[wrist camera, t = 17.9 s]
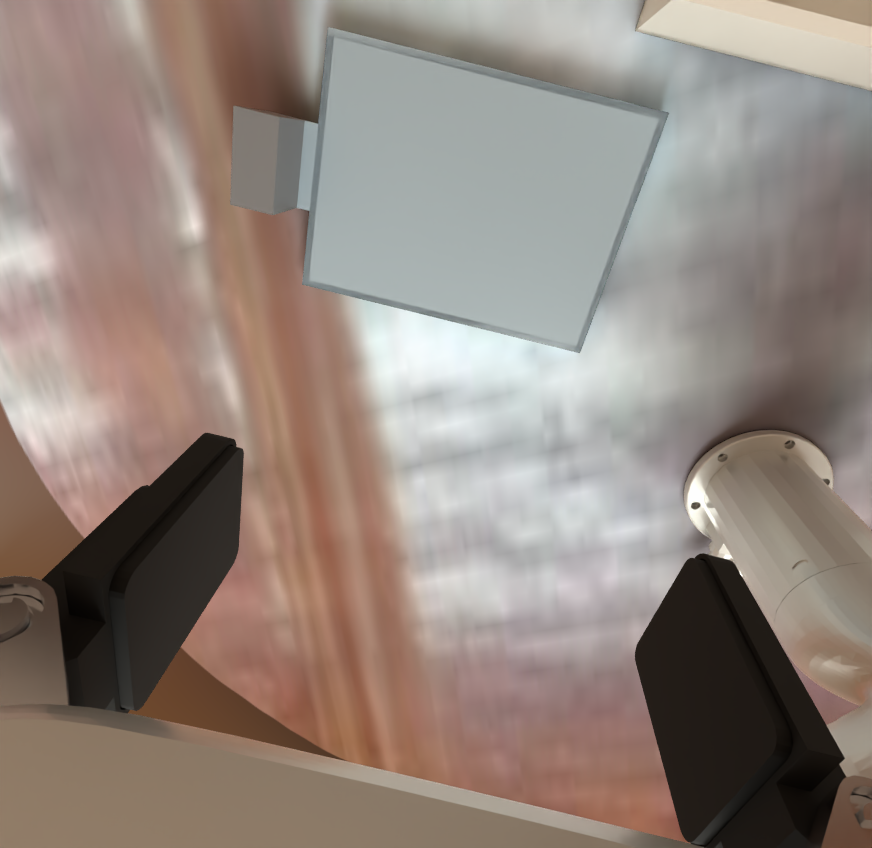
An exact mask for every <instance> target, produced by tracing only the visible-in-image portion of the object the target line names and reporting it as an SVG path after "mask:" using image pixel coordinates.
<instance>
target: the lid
mask: <svg viewBox="0 0 872 848" xmlns="http://www.w3.org/2000/svg"><path fill="white" fill-rule="evenodd" d="M668 115H669V113H668V112H664V111H660V110H656V109H652V108H648V107H644V106H640V105H636V104H632V103H628V102H624V101H620V100H617V99H613V98H609V97H605V96H601V95H597V94H593V93H589V92H585V91H581V90H577V89H573V88H569V87H565V86H561V85H557V84H553V83H549V82H545V81H541V80H537V79H533V78H529V77H525V76H521V75H517V74H513V73H509V72H505V71H502V70H498V69H494V68H490V67H486V66H482V65H478V64H474V63H470V62H466V61H462V60H458V59H454V58H450V57H446V56H442V55H438V54H434V53H430V52H426V51H422V50H418V49H414V48H410V47H406V46H402V45H398V44H394V43H390V42H387V41H383V40H379V39H375V38H371V37H367V36H363V35H359V34H355V33H351V32H347V31H343V30H339V29H335V28H331V27H328V30H327V40H326V50H325V60H324V70H323V80H322V91H321V101H320V111H319V121H318V123H314V122H310V121H306V120H302V119H298V118H294V117H290V116H286V115H282V114H278V113H274V112H270V111H265V110H259V109H252V108H246V107H239V106H234V107H233V138H232V169H231V200H230V205H234V206H238V207H242V208H246V209H250V210H254V211H258V212H262V213H266V214H270V215H275V214H278V213H281V212H285V211H288V210H291V209H295V208H300V209H304V210H308V211H310V212H309V222H308V232H307V242H306V252H305V262H304V272H303V282H302V285H306V286H310V287H314V288H318V289H322V290H327V291H331V292H335V293H339V294H343V295H347V296H351V297H355V298H359V299H363V300H367V301H371V302H375V303H379V304H383V305H387V306H391V307H395V308H399V309H403V310H408V311H412V312H416V313H420V314H424V315H428V316H432V317H436V318H440V319H444V320H448V321H452V322H456V323H460V324H464V325H468V326H472V327H476V328H480V329H484V330H488V331H493V332H497V333H501V334H505V335H509V336H513V337H517V338H521V339H525V340H529V341H533V342H537V343H541V344H545V345H549V346H553V347H557V348H561V349H565V350H569V351H574V352H578V353H580V351H581V349H582V346H583V343H584V341H585V338H586V335H587V333H588V330H589V327H590V325H591V322H592V319H593V316H594V314H595V311H596V308H597V306H598V303H599V300H600V298H601V295H602V292H603V290H604V287H605V284H606V281H607V279H608V276H609V273H610V271H611V268H612V265H613V263H614V260H615V257H616V255H617V252H618V249H619V246H620V244H621V241H622V238H623V236H624V233H625V230H626V228H627V225H628V222H629V220H630V217H631V214H632V211H633V209H634V206H635V203H636V201H637V198H638V195H639V193H640V190H641V187H642V185H643V182H644V179H645V176H646V174H647V171H648V168H649V166H650V163H651V160H652V158H653V155H654V152H655V150H656V147H657V144H658V141H659V139H660V136H661V133H662V131H663V128H664V125H665V123H666V120H667V117H668Z"/></svg>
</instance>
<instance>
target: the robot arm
mask: <svg viewBox="0 0 872 848" xmlns="http://www.w3.org/2000/svg"><path fill="white" fill-rule="evenodd" d="M243 458H244V452H243V449H242V448H238V447H236V442H235V440H234V439H231V438H227V437H223V436H219V435H215V434H211V433H204V434H203V435H202V436H201V437H200V438H199V439H197V440H196V441H195V442H194V443H193V444H192V445H191V446H190V447H189V448H188V449H187V450H186V451H185V452H184V453H183V454H182V455H181V456H180V457H179V458H178V459H177V460H176V461H175V462H174V463H173V464H172V465H171V466H170V467H169V468H168V469H167V470H166V471H165V472H164V473H163V474H161V475H160V476H159V477H158V478H157V479H156V480H155V481H154V482H153V483H152V484H151V485H150V486H148V485H146V486H142V487H140V488H139V489H137V490H136V491H135V492H134V493H133V494H132V495H130V496H129V497H128V498H127V499H126V500H125V501H124V502H123V503H122V504H121V505H120V506H119V507H118V508H117V509H116V510H115V511H114V512H113V513H111V514H110V515H109V516H108V517H107V518H106V519H105V520H104V521H103V522H102V523H101V524H100V525H99V526H98V527H97V528H96V529H95V530H94V531H92V532H91V533H90V534H89V535H88V536H87V537H86V538H85V539H84V540H83V541H82V542H81V543H80V544H79V545H78V546H77V547H76V548H75V549H74V550H73V551H71V552H70V553H69V554H68V555H67V556H66V557H65V558H64V559H63V560H62V561H61V562H60V563H59V564H58V565H57V566H56V567H55V568H53V569H52V570H51V571H50V572H49V573H48V574H47V575H46V576H45V577H44V578H43V579H42V580H39V579H36V578H32V577H23V576H10V577H3V578H0V848H872V530H871V529H870V528H869V527H868V526H867V525H866V524H865V523H864V522H863V521H862V520H861V519H860V518H859V517H858V516H857V515H856V514H855V513H854V512H853V511H852V510H851V509H850V508H849V506H848V505H847V504H846V503H845V502H844V501H843V500H842V499H841V498H840V497H839V496H838V495H837V494H836V493H835V492H834V491H833V482H834V476H833V471H832V467H831V465H830V463H829V461H828V459H827V457H826V456H825V455H824V454H823V453H822V451H821V450H820V449H819V448H818V447H816V446H815V445H814V444H813V443H812V442H810V441H809V440H807V439H805V438H803V437H801V436H800V435H797V434H793V433H790V432H787V431H778V430H760V431H753V432H748V433H744V434H741V435H738V436H735V437H732V438H730V439H728V440H726V441H724V442H722V443H720V444H718V445H716V446H715V447H714V448H712V449H711V450H710V451H708V452H707V453H706V454H705V455H704V456H703V457H702V458H701V459H700V460H699V461H698V462H697V463H696V464H695V466H694V467H693V469H692V470H691V472H690V474H689V476H688V478H687V481H686V483H685V489H684V505H685V508H686V511H687V514H688V515H689V517H690V519H691V521H692V523H693V524H694V525H695V527H696V528H697V529H698V530H699V531H700V532H701V533H703V534H704V535H705V536H706V537H708V538H710V539H712V541H711V543H710V544H709V550H710V553H709V554H704V553H703V554H699V555H697V556H696V557H695V558H690V559H688V560H687V561H686V562H685V564H684V566H683V567H682V569H681V571H680V572H679V574H678V576H677V577H676V579H675V581H674V583H673V584H672V586H671V588H670V589H669V591H668V593H667V594H666V596H665V598H664V600H663V601H662V603H661V605H660V606H659V608H658V610H657V611H656V613H655V615H654V616H653V618H652V620H651V622H650V623H649V625H648V627H647V628H646V630H645V632H644V633H643V635H642V637H641V639H640V640H639V642H638V644H637V647H636V651H635V661H636V665H637V669H638V673H639V676H640V680H641V684H642V688H643V691H644V695H645V699H646V703H647V706H648V710H649V714H650V718H651V721H652V725H653V729H654V733H655V736H656V740H657V744H658V748H659V751H660V755H661V759H662V762H663V766H664V770H665V774H666V777H667V781H668V785H669V789H670V792H671V796H672V800H673V804H674V807H675V811H676V815H677V819H678V822H679V826H680V830H681V832H682V835H683V837H684V838H685V840H686V841H688V842H690V843H691V844H689V843H685V842H681V841H677V840H673V839H668V838H664V837H660V836H656V835H652V834H648V833H644V832H640V831H636V830H632V829H627V828H623V827H619V826H615V825H611V824H607V823H603V822H599V821H595V820H590V819H586V818H582V817H578V816H574V815H570V814H566V813H562V812H558V811H553V810H549V809H545V808H541V807H537V806H533V805H528V804H524V803H520V802H516V801H512V800H507V799H503V798H499V797H495V796H491V795H486V794H482V793H478V792H474V791H470V790H465V789H461V788H457V787H453V786H449V785H444V784H440V783H436V782H432V781H427V780H423V779H419V778H415V777H411V776H406V775H402V774H398V773H394V772H389V771H385V770H381V769H377V768H372V767H368V766H364V765H359V764H355V763H351V762H346V761H342V760H338V759H333V758H329V757H325V756H320V755H316V754H312V753H308V752H303V751H299V750H295V749H290V748H286V747H281V746H277V745H273V744H269V743H264V742H260V741H256V740H251V739H247V738H243V737H238V736H234V735H230V734H225V733H220V732H215V731H211V730H206V729H201V728H197V727H192V726H187V725H183V724H178V723H173V722H168V721H164V720H159V719H154V718H149V717H145V716H140V715H134V714H128V712H129V710H135V711H137V710H139V709H140V708H141V707H142V706H143V705H144V703H145V702H146V701H147V699H148V697H149V696H150V694H151V693H152V691H153V690H154V688H155V686H156V684H157V683H158V681H159V680H160V679H161V677H162V675H163V674H164V672H165V670H166V669H167V667H168V666H169V664H170V663H171V661H172V660H173V658H174V656H175V655H176V653H177V652H178V650H179V649H180V647H181V645H182V644H183V642H184V641H185V639H186V638H187V636H188V634H189V633H190V631H191V630H192V628H193V627H194V625H195V623H196V622H197V620H198V619H199V617H200V616H201V614H202V612H203V611H204V609H205V608H206V606H207V605H208V603H209V601H210V600H211V598H212V597H213V595H214V594H215V592H216V590H217V589H218V587H219V586H220V584H221V583H222V581H223V579H224V578H225V576H226V575H227V573H228V571H229V570H230V568H231V567H232V565H233V563H234V561H235V559H236V556H237V553H238V547H239V531H240V513H241V494H242V476H243ZM733 561H734V562H735V563H733ZM743 578H744V579H743ZM744 580H745V581H746V583H747V585H748V586H747V585H746V583H745V581H744ZM748 587H749V588H750V590H751V592H752V593H751V592H750V590H749V588H748ZM752 594H753V595H754V597H755V599H756V601H757V602H758V604H759V606H760V608H761V609H760V608H759V606H758V604H757V602H756V601H755V599H754V597H753V595H752ZM761 610H762V611H763V613H764V615H765V616H764V615H763V613H762V611H761ZM765 617H766V618H767V620H768V622H769V623H768V622H767V620H766V618H765ZM769 624H770V625H771V627H772V629H773V630H772V629H771V627H770V625H769ZM773 631H774V632H775V634H776V636H777V637H776V636H775V634H774V632H773ZM777 638H778V639H779V641H780V643H781V645H782V646H783V648H784V650H785V652H786V653H787V655H788V656H789V657H790V659H791V660H792V662H793V663H794V664H795V665H796V666H797V667H798V668H799V669H800V670H801V671H802V672H803V673H804V674H805V675H806V676H807V677H809V678H810V679H811V680H812V681H814V682H815V683H816V684H818V685H820V686H821V687H823V688H824V689H826V690H828V691H829V692H831V693H833V694H835V695H837V696H839V697H841V698H843V699H845V700H847V701H849V702H852V703H854V704H856V705H859V706H860V707H858V708H857V709H855V710H853V711H851V712H850V713H848V714H846V715H844V716H842V717H840V718H838V720H836V721H834V722H832V723H830V724H828V725H826V724H825V722H824V720H823V718H822V717H821V715H820V713H819V711H818V710H817V708H816V706H815V704H814V703H813V701H812V699H811V697H810V696H809V694H808V692H807V690H806V689H805V687H804V685H803V683H802V682H801V680H800V678H799V676H798V674H797V673H796V671H795V669H794V667H793V666H792V664H791V662H790V660H789V659H788V657H787V655H786V653H785V652H784V650H783V648H782V646H781V645H780V643H779V641H778V639H777Z"/></svg>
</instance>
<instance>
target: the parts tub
mask: <svg viewBox="0 0 872 848" xmlns="http://www.w3.org/2000/svg"><path fill="white" fill-rule="evenodd" d="M635 31H637V32H641V33H645V34H649V35H653V36H657V37H661V38H664V39H668V40H672V41H676V42H680V43H684V44H688V45H692V46H696V47H700V48H704V49H708V50H712V51H716V52H720V53H724V54H728V55H732V56H736V57H739V58H743V59H747V60H751V61H755V62H759V63H763V64H767V65H771V66H775V67H779V68H783V69H787V70H791V71H795V72H799V73H803V74H807V75H811V76H815V77H818V78H822V79H826V80H830V81H834V82H838V83H842V84H846V85H850V86H854V87H858V88H862V89H866V90H870V91H872V0H645V2H644V5H643V8H642V12H641V15H640V18H639V21H638V24H637V27H636V30H635Z"/></svg>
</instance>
